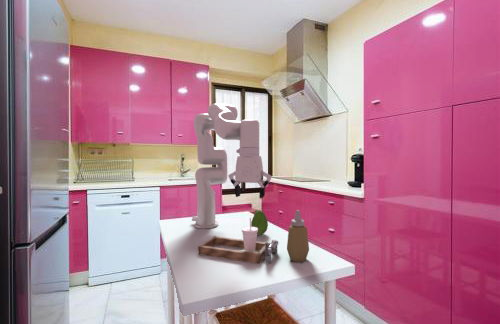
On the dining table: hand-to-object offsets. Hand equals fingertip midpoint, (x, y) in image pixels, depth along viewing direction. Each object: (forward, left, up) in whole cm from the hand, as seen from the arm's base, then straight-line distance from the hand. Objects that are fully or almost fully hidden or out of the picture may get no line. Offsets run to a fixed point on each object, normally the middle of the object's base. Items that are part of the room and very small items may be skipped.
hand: (249, 197), depth 96 cm
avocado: (-4, +24, -22) cm, 33 cm away
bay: (-6, 0, -22) cm, 23 cm away
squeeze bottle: (+18, +2, -22) cm, 29 cm away
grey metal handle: (+9, 0, -22) cm, 24 cm away
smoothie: (0, 0, -22) cm, 22 cm away
